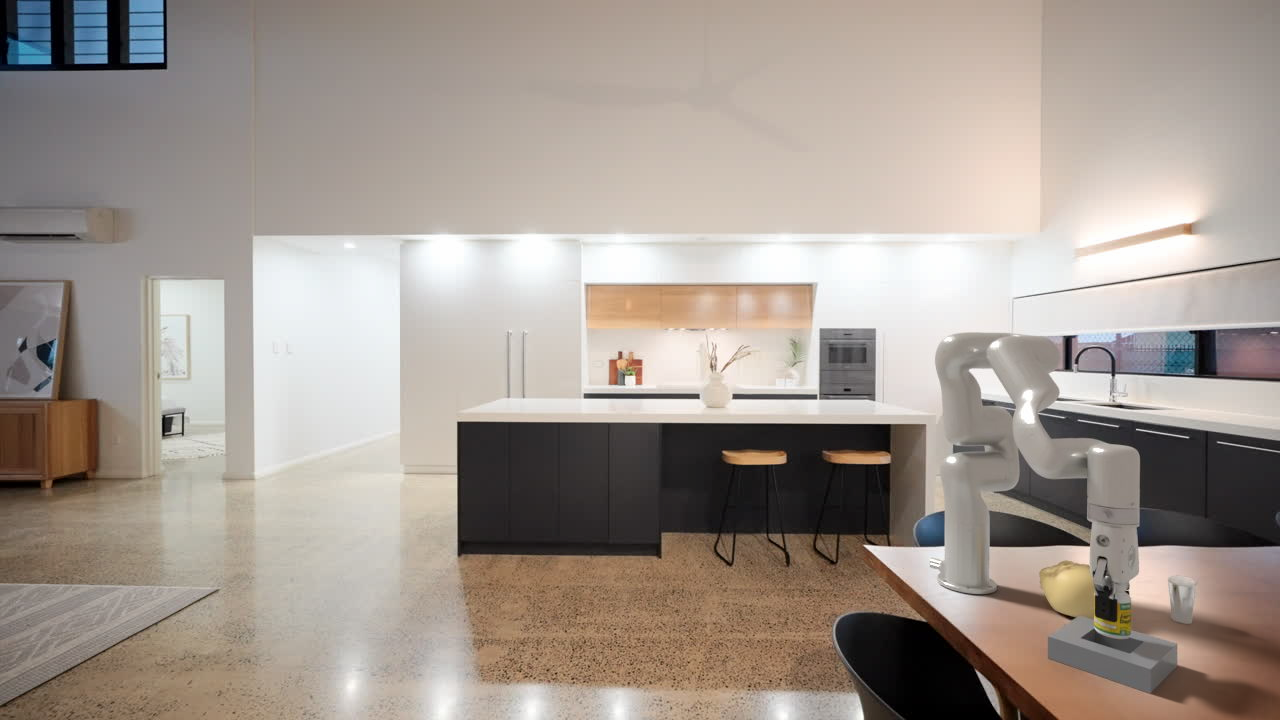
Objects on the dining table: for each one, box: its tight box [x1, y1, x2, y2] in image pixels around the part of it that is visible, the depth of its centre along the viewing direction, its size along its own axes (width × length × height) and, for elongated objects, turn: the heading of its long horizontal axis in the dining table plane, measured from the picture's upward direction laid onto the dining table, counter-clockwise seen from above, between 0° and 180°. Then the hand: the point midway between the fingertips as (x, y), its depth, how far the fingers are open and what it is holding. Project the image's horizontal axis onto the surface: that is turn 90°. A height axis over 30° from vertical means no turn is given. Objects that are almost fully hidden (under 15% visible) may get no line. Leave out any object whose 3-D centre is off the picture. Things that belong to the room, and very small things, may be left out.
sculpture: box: [1038, 560, 1095, 619], centre depth 135 cm, size 11×12×11 cm
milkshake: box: [1167, 574, 1202, 625], centre depth 131 cm, size 4×5×10 cm
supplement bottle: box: [1094, 576, 1132, 639], centre depth 114 cm, size 5×5×10 cm
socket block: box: [1047, 616, 1178, 695], centre depth 114 cm, size 15×15×4 cm
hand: (1112, 614), depth 114 cm, fingers closed on supplement bottle, 5 cm apart
